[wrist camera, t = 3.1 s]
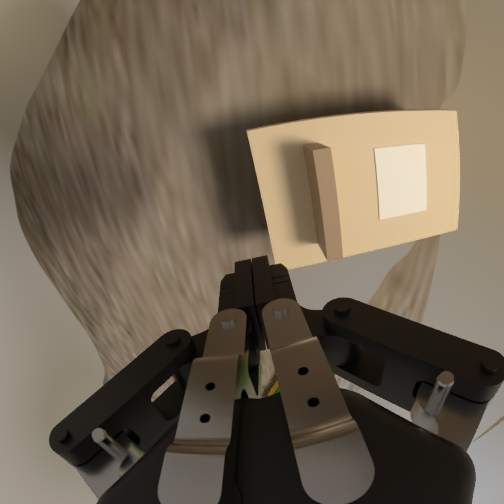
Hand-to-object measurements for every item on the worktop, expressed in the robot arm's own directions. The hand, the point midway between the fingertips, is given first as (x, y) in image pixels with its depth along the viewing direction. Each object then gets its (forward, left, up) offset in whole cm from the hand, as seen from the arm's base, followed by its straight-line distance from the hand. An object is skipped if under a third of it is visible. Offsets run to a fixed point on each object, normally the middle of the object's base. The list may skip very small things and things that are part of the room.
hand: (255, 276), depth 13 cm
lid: (0, +11, -12) cm, 16 cm away
